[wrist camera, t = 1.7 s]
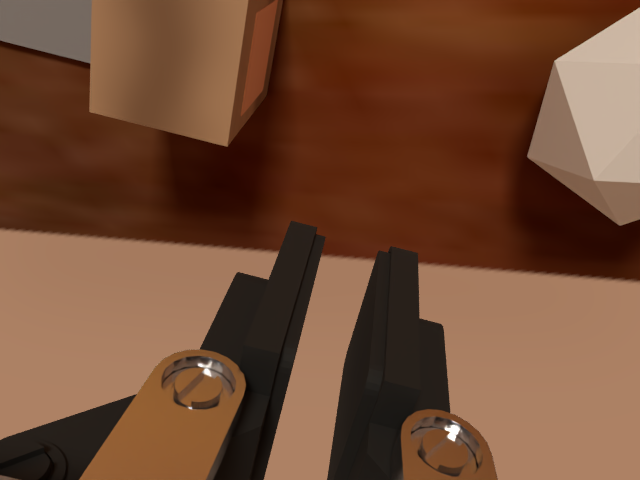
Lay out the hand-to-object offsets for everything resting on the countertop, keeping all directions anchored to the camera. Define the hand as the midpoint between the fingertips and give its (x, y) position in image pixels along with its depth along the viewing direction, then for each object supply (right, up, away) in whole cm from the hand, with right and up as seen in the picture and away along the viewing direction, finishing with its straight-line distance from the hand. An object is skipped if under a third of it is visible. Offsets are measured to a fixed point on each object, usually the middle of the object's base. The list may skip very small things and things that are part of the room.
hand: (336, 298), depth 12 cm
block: (-5, +12, +18) cm, 23 cm away
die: (+14, +9, +18) cm, 24 cm away
